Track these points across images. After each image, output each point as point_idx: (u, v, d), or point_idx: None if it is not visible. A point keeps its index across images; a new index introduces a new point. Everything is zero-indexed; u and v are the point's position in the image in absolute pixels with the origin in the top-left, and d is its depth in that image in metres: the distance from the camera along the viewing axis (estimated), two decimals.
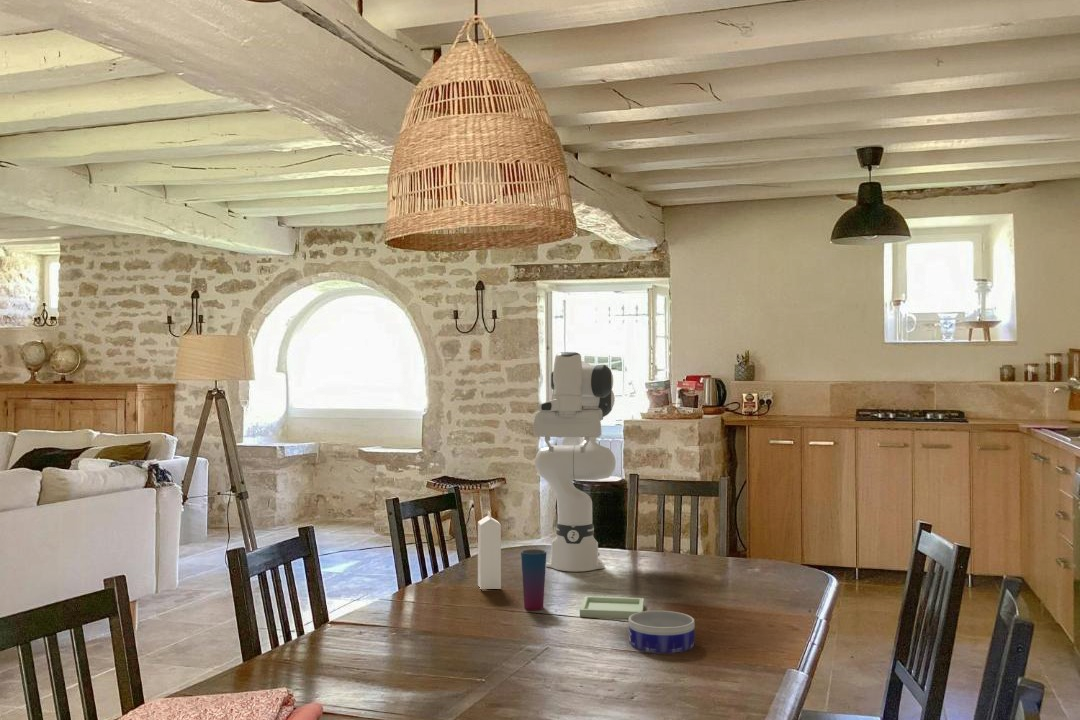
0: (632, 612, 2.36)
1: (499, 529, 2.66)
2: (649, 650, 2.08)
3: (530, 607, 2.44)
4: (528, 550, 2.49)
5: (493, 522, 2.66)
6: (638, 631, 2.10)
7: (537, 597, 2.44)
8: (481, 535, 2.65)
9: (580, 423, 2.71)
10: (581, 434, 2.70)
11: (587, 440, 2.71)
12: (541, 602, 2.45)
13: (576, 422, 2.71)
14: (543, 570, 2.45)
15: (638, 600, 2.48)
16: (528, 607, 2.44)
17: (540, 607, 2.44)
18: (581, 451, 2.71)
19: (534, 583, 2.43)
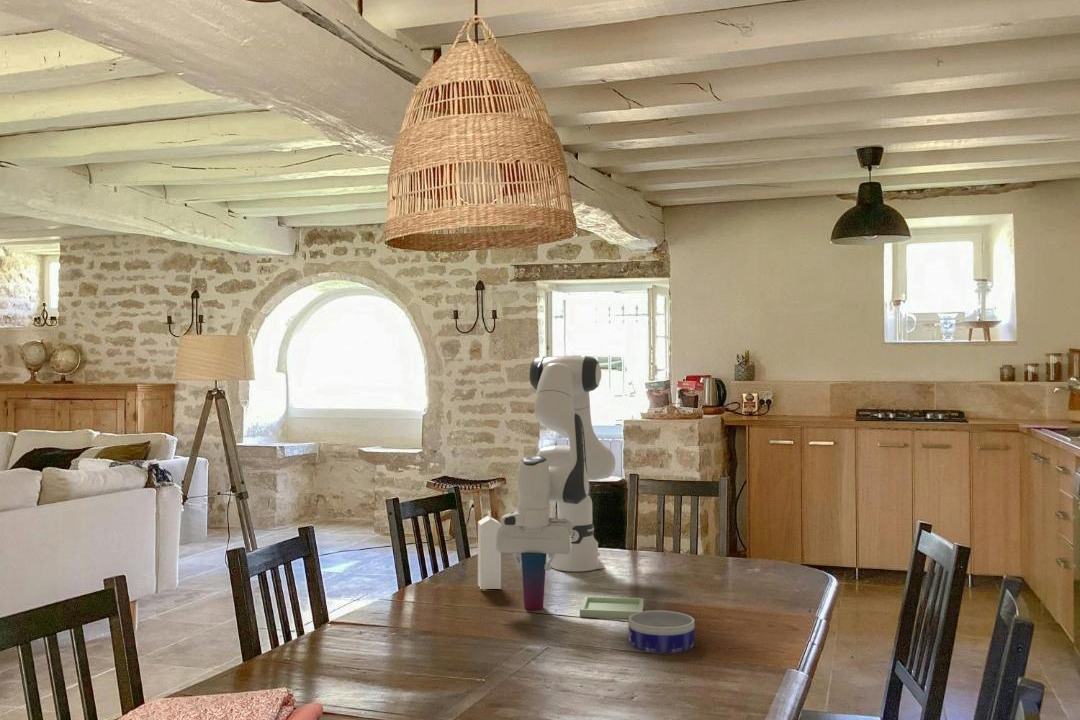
0: (632, 612, 2.36)
1: None
2: (649, 650, 2.08)
3: (530, 607, 2.44)
4: None
5: (493, 522, 2.66)
6: (638, 631, 2.10)
7: (537, 597, 2.44)
8: (481, 535, 2.65)
9: (547, 538, 2.44)
10: (549, 551, 2.44)
11: (552, 557, 2.45)
12: (541, 602, 2.45)
13: (543, 538, 2.44)
14: (543, 570, 2.45)
15: (638, 600, 2.48)
16: (528, 607, 2.44)
17: (540, 607, 2.44)
18: (545, 569, 2.45)
19: (534, 583, 2.43)
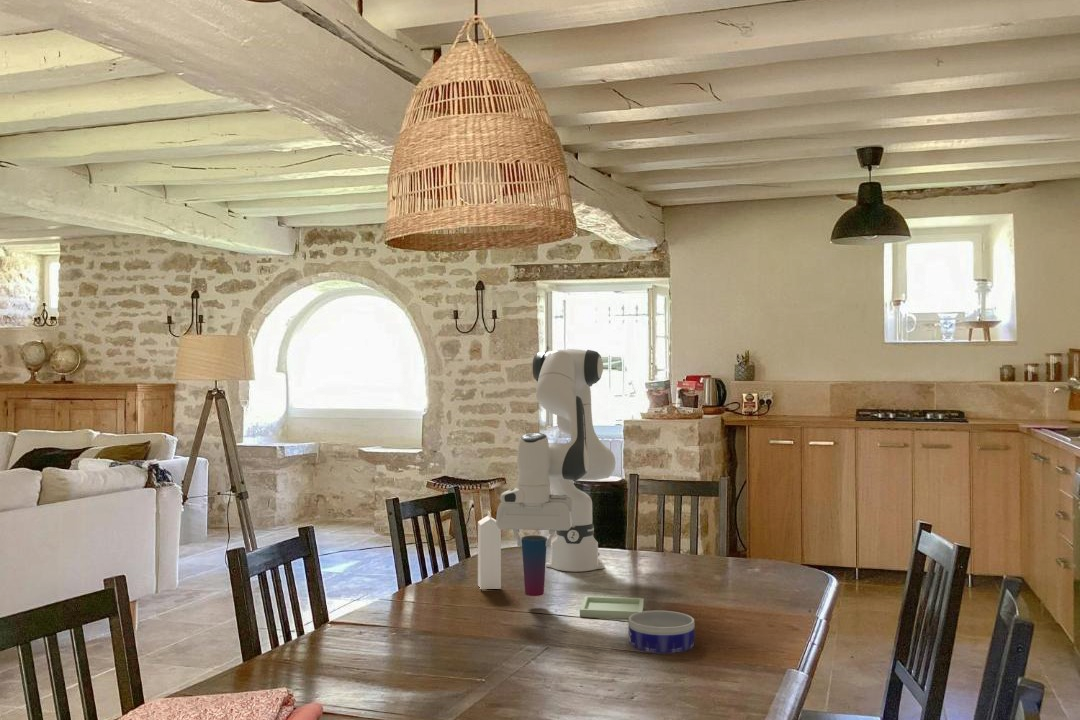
0: (632, 612, 2.36)
1: (499, 529, 2.66)
2: (649, 650, 2.08)
3: (530, 593, 2.45)
4: (529, 536, 2.49)
5: (493, 522, 2.66)
6: (638, 631, 2.10)
7: (537, 583, 2.44)
8: (481, 535, 2.65)
9: (547, 514, 2.44)
10: (549, 527, 2.44)
11: (552, 533, 2.45)
12: (541, 588, 2.45)
13: (543, 514, 2.45)
14: (543, 556, 2.45)
15: (638, 600, 2.48)
16: (528, 593, 2.45)
17: (540, 593, 2.45)
18: (546, 545, 2.45)
19: (534, 569, 2.44)
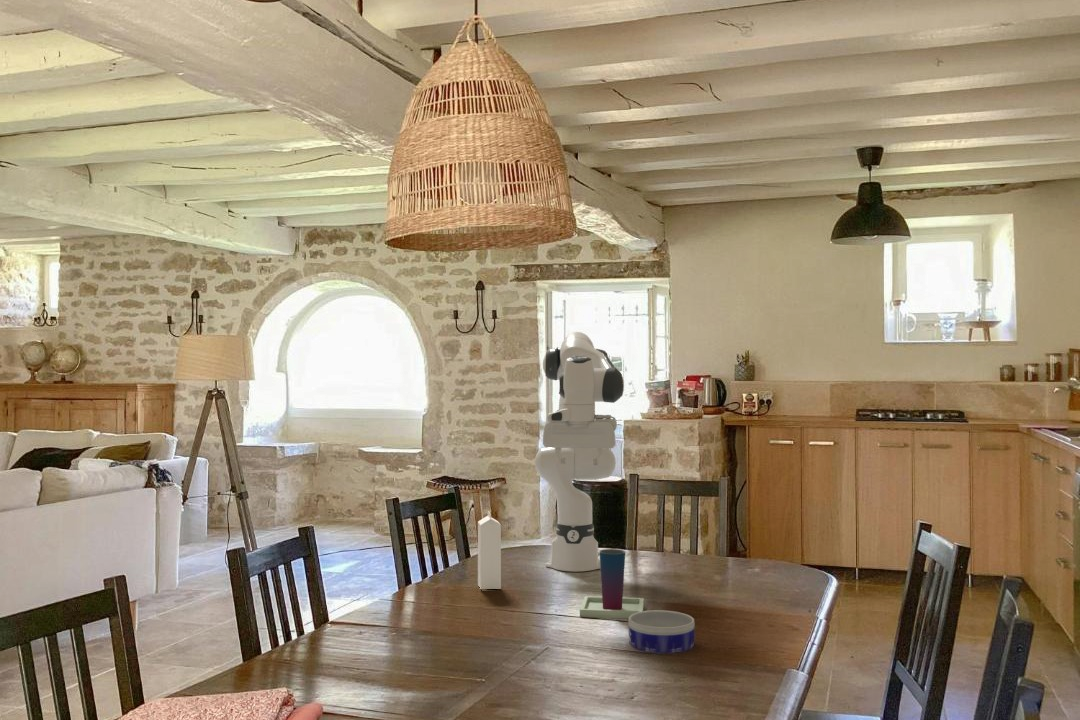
0: (632, 612, 2.36)
1: (499, 529, 2.66)
2: (649, 650, 2.08)
3: (609, 608, 2.41)
4: (606, 550, 2.46)
5: (493, 522, 2.66)
6: (638, 631, 2.10)
7: (616, 598, 2.41)
8: (481, 535, 2.65)
9: (592, 433, 2.55)
10: (594, 445, 2.54)
11: (600, 451, 2.55)
12: (620, 603, 2.42)
13: (589, 433, 2.55)
14: (622, 570, 2.41)
15: (638, 600, 2.48)
16: (607, 608, 2.41)
17: (619, 608, 2.41)
18: (594, 463, 2.55)
19: (613, 583, 2.40)
